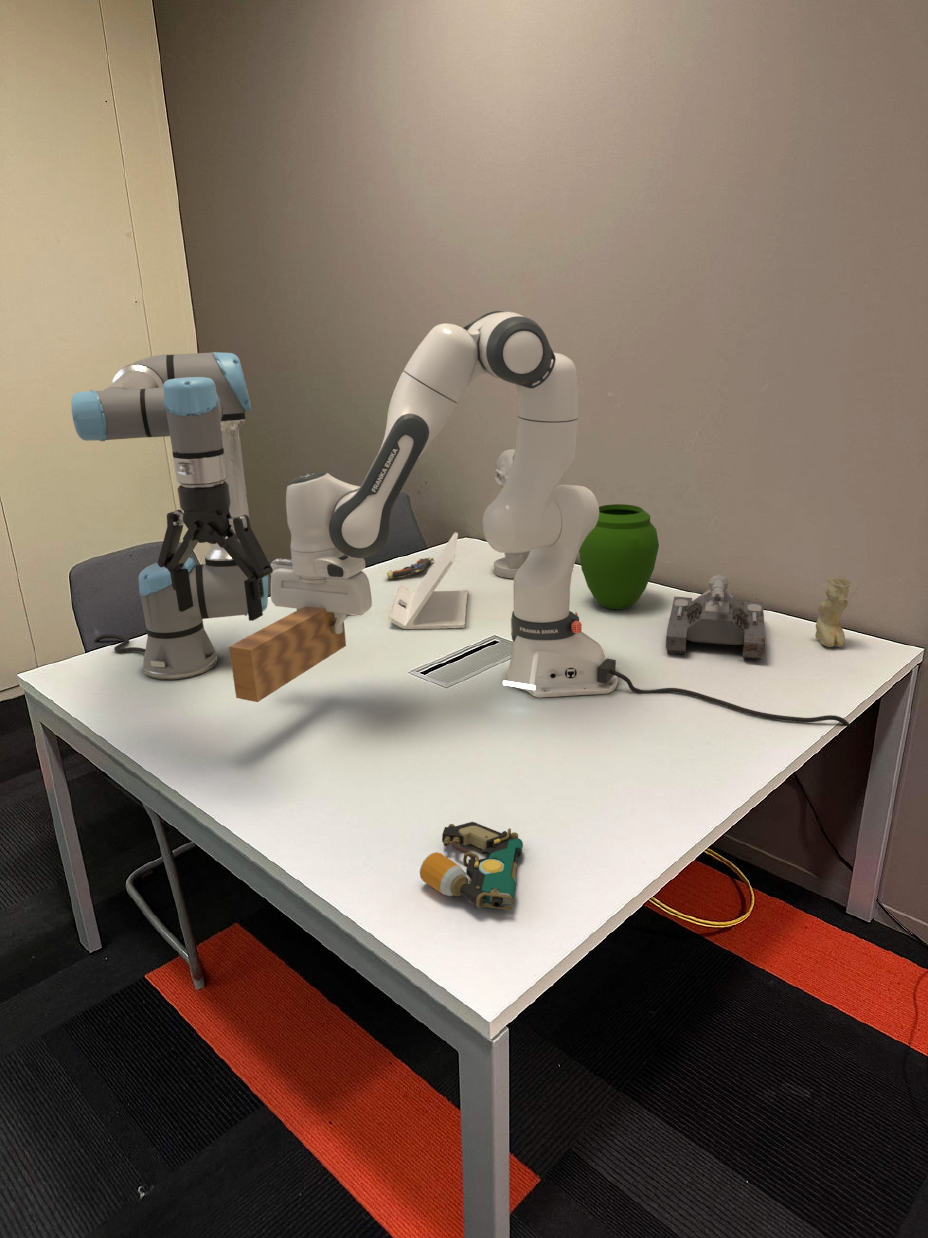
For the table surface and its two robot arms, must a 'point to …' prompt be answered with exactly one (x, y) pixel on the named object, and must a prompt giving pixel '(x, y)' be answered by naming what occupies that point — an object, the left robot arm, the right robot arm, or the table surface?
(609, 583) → the vase
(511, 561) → the bust sculpture
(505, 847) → the spray gun
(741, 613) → the toy
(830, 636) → the sculpture
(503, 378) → the right robot arm
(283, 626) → the bar
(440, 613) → the tablet stand
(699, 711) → the table surface
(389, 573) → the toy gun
